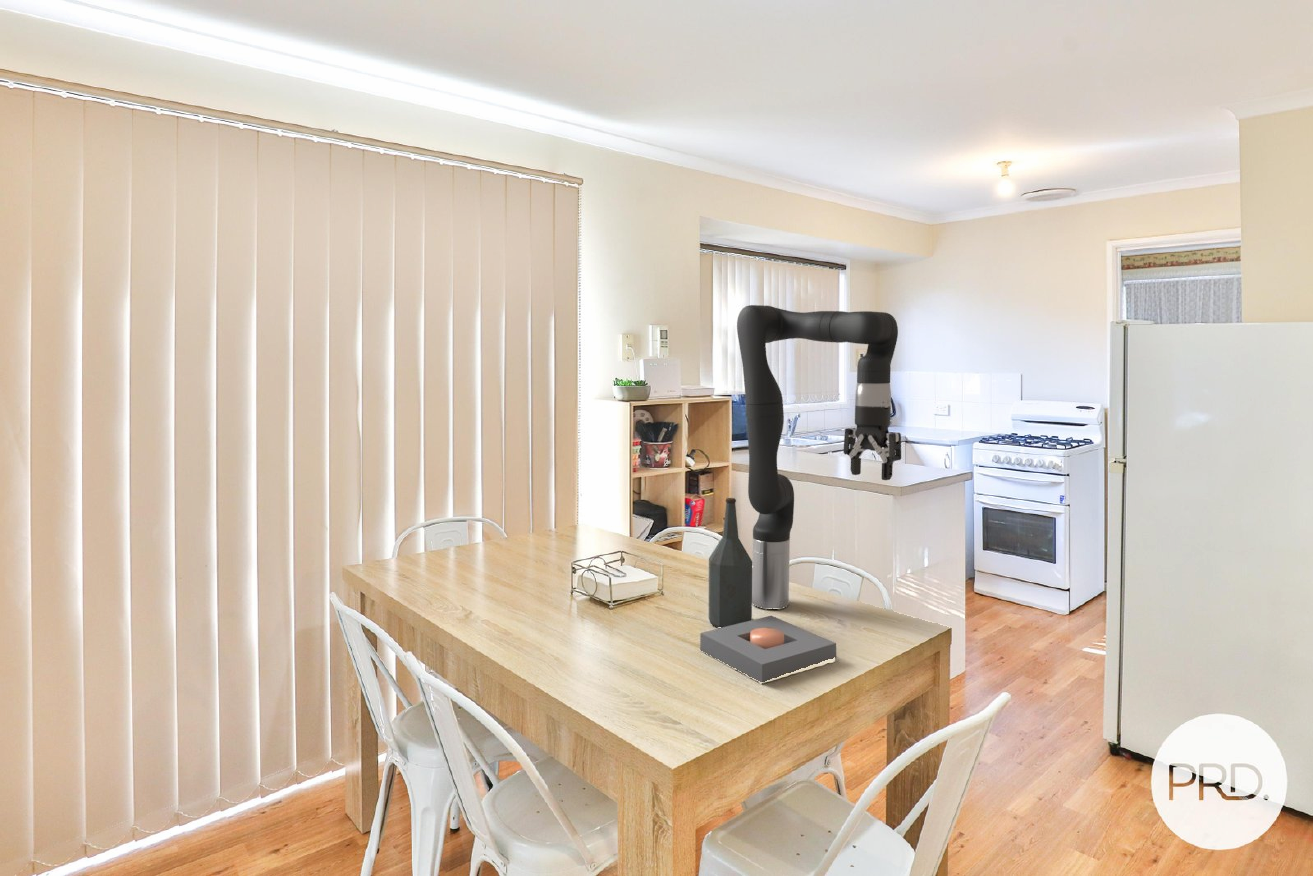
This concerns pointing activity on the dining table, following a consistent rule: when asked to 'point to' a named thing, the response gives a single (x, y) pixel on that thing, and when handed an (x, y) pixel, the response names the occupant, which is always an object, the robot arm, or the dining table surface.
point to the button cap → (766, 637)
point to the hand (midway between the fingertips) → (870, 477)
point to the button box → (769, 662)
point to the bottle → (730, 576)
